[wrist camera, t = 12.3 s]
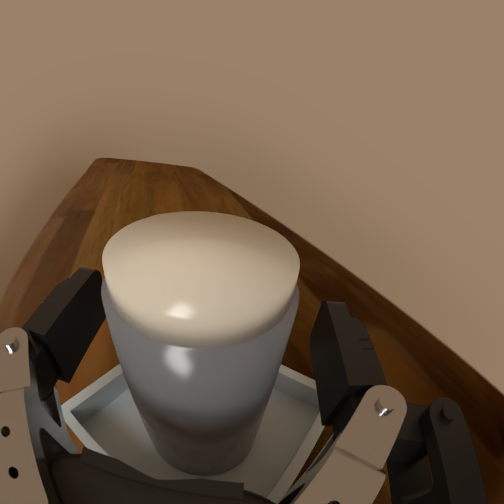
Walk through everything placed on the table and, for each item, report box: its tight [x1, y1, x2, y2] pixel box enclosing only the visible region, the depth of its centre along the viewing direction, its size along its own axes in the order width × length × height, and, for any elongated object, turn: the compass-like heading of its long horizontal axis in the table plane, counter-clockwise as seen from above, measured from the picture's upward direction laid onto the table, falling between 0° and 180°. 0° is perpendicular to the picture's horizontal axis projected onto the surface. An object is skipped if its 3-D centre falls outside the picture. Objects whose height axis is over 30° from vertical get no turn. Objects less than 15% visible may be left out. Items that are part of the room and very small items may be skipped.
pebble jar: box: [101, 211, 300, 476], centre depth 10 cm, size 6×6×11 cm
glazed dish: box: [61, 364, 325, 504], centre depth 12 cm, size 11×11×2 cm
